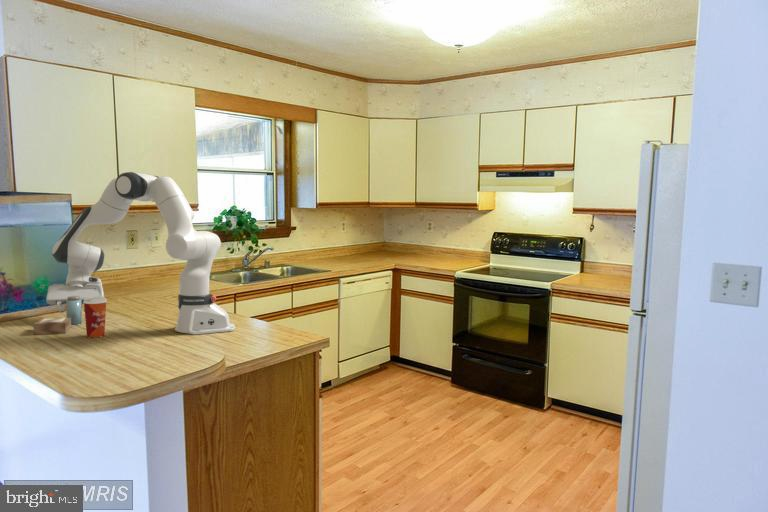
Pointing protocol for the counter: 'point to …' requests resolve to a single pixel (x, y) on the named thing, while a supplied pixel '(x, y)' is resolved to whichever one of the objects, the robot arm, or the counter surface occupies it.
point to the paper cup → (95, 316)
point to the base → (52, 326)
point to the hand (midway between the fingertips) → (73, 311)
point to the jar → (74, 310)
